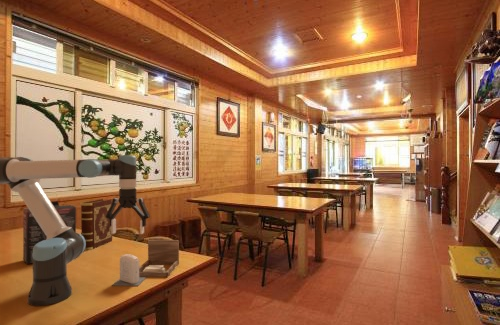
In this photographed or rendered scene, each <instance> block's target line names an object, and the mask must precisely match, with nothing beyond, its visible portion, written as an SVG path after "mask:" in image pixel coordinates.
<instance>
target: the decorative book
mask: <svg viewBox="0 0 500 325" xmlns="http://www.w3.org/2000/svg"><path fill="white" fill-rule="evenodd" d="M112 199H113V198H110V199H106V200H104V198H101V199H95V200H90V201H85V202H80V203H79V204H80V208H81V209H80V212H79V213H80V215H81V217H80V220H81V224H80V225H81V228H80V229H81V232H80V234H81V235H82V236H83V237H84V239H85V241H86V247H85V250H84V251H88V250H89V251H90V250H93V249H96V248H98V247H100V246H103V245H105V244H109V243H110V242H112V241H113V234H112V226H110V219H108V218H106V215H107V212H108V210H109V208H110V206H111V204H112Z"/></svg>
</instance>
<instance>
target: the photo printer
mask: <svg viewBox="0 0 500 325" xmlns="http://www.w3.org/2000/svg"><path fill="white" fill-rule="evenodd" d="M139 267H140V259H139V258H138V257H137V256H135V255H133V254H130V253H128V254H127V253H126V254H123V255H121V256H120V258H119V279H120V280H122V281H125V282H128V283H131V284H135V283H138V281H139Z"/></svg>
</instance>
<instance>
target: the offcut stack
mask: <svg viewBox="0 0 500 325" xmlns="http://www.w3.org/2000/svg"><path fill="white" fill-rule="evenodd" d="M164 266H165V264H150V265H149V266H147V267H145V269H144V270H143V271H142V272H165V273H166V271H167V270H166V267H164Z"/></svg>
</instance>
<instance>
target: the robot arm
mask: <svg viewBox="0 0 500 325" xmlns="http://www.w3.org/2000/svg"><path fill="white" fill-rule="evenodd" d="M137 165H138V164H137V157H136V155H132V154H131V155H130V154H128V155H127V154H124V155H123V154H121V155H119V156H118V158H117V159H110V158H109V159H108V158H107V159H105V158H104V159H103V158H99V159H97V158H96V159H95V158H87V159H59V160H57V159H56V160H55V159H54V160H53V159H52V160H51V159H50V160H49V159H48V160H33V159H31V158H28V157H23V156H18V157H17V156H16V157H11V156H10V157H8V156H7V157H5V156H2V157H1V156H0V185H8V187H9V189H11V191H12V192H15V193H18V195H19V196H20V198H21V199H22V200H23V202H24V204H25V205H26V207H27V209H29V210H30V212H31V213H32V215H33V216H34V218H35V219H36V221H37V222H38V224H39V226H40V227H41V229H42V230H43V232H44V233H45V235H46V236H47V239H46V240H43V241H41V242H39V243H37V244H36V245H35V246H34V248H33V253H32V257H33V263H32V285H31V287H30V290H29V293H28V296H27V304H28V305H29V306H32V307H33V306H34V307H43V306H44V307H45V306H50V305H53V304H56V303H60V302H62V301H64V300H66V299H68V298H69V297H70V296H71V295H72V294H73V292H72V289H73V288H72V286H71V284H70V281H69V280H70V279H68V276H67V273H68V272H67V271H68V269H67V266H68V265H67V264H69V263H71V262H72V261H74V260H76V259H77V258H79V257H80V256H81V255H82V254H83V253H84V252H85V251H86V250H85V247H86V241H85V239H84V237H83V236H82V234H81V233H78V232H76V233H75V232H74V230H73V228H72V227H67V226H66V225H65V223H64V221H63V220H62V218H61V217H60V215H59V214H58V212H57V211H56V209H55V207H54V206H53V204H52V203H51V202H52V201H51V200H50V198H49V197H48V195H47V194H46V192H45V190H44V189H43V187H42V186H41V184H40V182H41V179H44V180H45V179H67V178H68V179H69V178H70V179H72V178H90V179H91V178H96V177H105V176H106V177H107V176H109V177H110V176H119V177H118V179H119V180H118V187H119V190H118V196H119V198H118V197H113V198H111V199H112V204H111V206H110V208H109V210H108V212H107V215H106V218H108V219H110V226H112V235H114V234H116V233H117V219H116V217H117V216H118V214H119V213H120V212H121V210H122V209H132V210H134V212H135V213H136V214H137V215H138V216H139V218H140V220H139V226H140V227H139V234H140V235H143V234H145V227H146V226H147V220H148V219H149V218H150V217H151V215H150V213H149V210H148V209H147V207H146V204H145V203H144V198H143V197H140V198H137ZM118 203H119V205H118ZM138 204H139V205H138ZM117 205H118V207H117V208H116V206H117ZM139 206H140V207H139ZM115 208H116V209H115ZM114 210H115V211H114Z"/></svg>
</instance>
